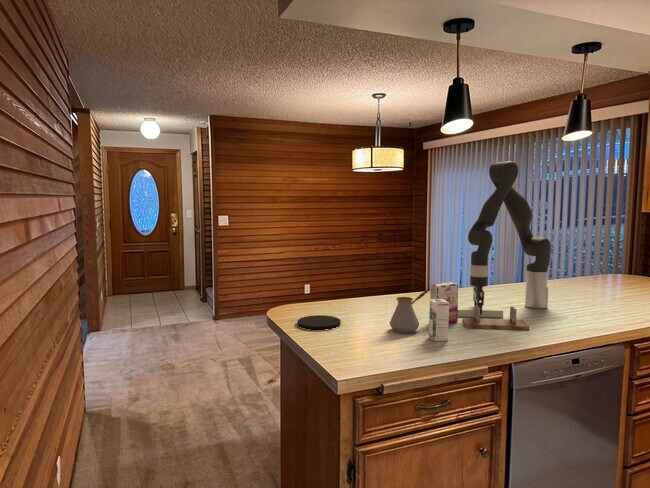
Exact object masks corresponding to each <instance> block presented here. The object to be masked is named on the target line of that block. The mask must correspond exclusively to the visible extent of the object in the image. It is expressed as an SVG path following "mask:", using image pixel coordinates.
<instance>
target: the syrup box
mask: <svg viewBox="0 0 650 488" xmlns="http://www.w3.org/2000/svg"><path fill="white" fill-rule="evenodd" d="M428 317H429V318H428V319H429V320H428V338H430V340H431V341H432V342H447V341H449V324H450V323H449V302H447V301H445V300H444V299H429V315H428Z"/></svg>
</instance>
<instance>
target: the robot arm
mask: <svg viewBox="0 0 650 488" xmlns="http://www.w3.org/2000/svg"><path fill="white" fill-rule="evenodd" d="M488 174H489V178H490V181H491V182H492V184H493V185H494V187H495V188H496V189H495V190H494V192H493V193H492V194H491V195H490V196H489V197H488V198H487V199H486V201H485V202H484V204H483V205H482V208H481V211H480V213H479V214H478V215H479V216H478V218H477V220H476V221H475V222H474V224H473V225H472V227H471V228H470V230H469V232H468V235H467V240H468V243H469V244H471V246H472V245H473V246H478V248H477V249H476V250H474V251H472V252H471V254H470V267H469V285H470V286H471V287H472V288H473V289H472V291H473V293H472V294H473V296H472V300H473V304H474V306H479V308H480V314H482V307H484V305H485V303H484V301H485V290H484V287H488V286H489V266H488V265H489V255H490V251H491V248H492V245H493V235H492V233H491V231H489V230H487V228H491V227H493V226H494V225H495V223H496V220H497V218H498V215H499V212H500V209H501V207H502V204H504V205H505V207H506V209H507V212H508V214H509V216H510V219H511V221H512V223H513V225H514V227H515V229H516V233H517V235H518V238H519V241H520V244H521V247H522V249H523V252H524V253H525V254H526V255H527V256H530V257H535V260H534V261H533V262H531V263H528V264H526V269H525V270H526V272H525V296H524V297H525V299H524V300H525V301H524V307H527V308H531V309H548V306H549V288H548V272H549V270H548V269H549V266H550V261H551V251H552V245H551V244H552V243H551V242H550V240H549V239H548V238H547V237H540V236H534V235H533V233H532V230H531V223H532V219H533V212H532V209H531V206H530V205H529V202H528V200H527V199H526V198H525V197H524V196H523V195H522V194H521V193H519V191H517V190H516V189H515V188H514V187H513V185H514V184H515V182H516V180H517V178H518V175H519V166H518V164H517V163H516V162H515V161H512V160H510V161H496V162H493V163H492V164H490V166H489V169H488ZM474 306H473V307H474Z"/></svg>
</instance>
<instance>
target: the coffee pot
mask: <svg viewBox="0 0 650 488" xmlns="http://www.w3.org/2000/svg"><path fill="white" fill-rule="evenodd" d="M430 290H431V289H430V288H427V289H425V290H424V291H423V292H421V293H420V294H419V295H418V296H417V297H416V298H415V299H414V298H412V297H411V296H410V297H409V296H398V297H396V301H397V305H396V308H394V309H395V310H394V311H393V314H392V317H391V319H390V321H389V326H390V328H391V329H392V330H393V331H395V332H396V333H399V334H411V333H415V331H416V330H417V329H418V328H419V326H420V322H419V319H418V317H417V314H416V313H415V310H414V308H413V307H414V306H413V304H415V303H416V302H417V301H419V300H420V299H421V298H422V297H424V296H425V295H426V294H427V293H429V294H430ZM431 291H432V290H431ZM431 293H432V292H431Z"/></svg>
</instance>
